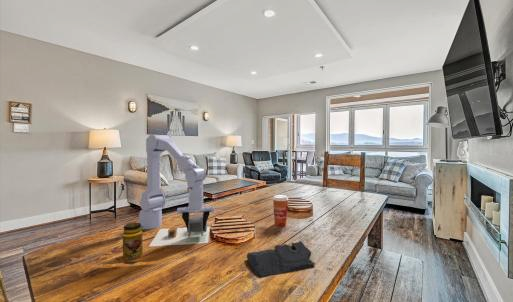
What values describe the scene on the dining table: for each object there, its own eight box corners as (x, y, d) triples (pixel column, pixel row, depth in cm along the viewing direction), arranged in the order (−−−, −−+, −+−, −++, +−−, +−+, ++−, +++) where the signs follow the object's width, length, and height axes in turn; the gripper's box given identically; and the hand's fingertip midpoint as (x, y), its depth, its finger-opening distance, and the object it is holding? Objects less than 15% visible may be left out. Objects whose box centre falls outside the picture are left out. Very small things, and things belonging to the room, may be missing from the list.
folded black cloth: (242, 257, 84) (242, 244, 83) (296, 247, 91) (296, 235, 91) (257, 281, 69) (257, 265, 69) (320, 267, 77) (320, 253, 77)
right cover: (193, 232, 102) (193, 218, 102) (194, 227, 108) (194, 214, 108) (206, 231, 103) (206, 218, 103) (207, 227, 109) (207, 214, 108)
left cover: (188, 236, 93) (188, 221, 93) (190, 231, 98) (189, 217, 98) (202, 236, 94) (202, 221, 93) (203, 230, 99) (203, 216, 99)
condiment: (132, 265, 77) (132, 229, 77) (112, 261, 80) (112, 226, 79) (149, 254, 84) (148, 221, 84) (130, 251, 87) (129, 219, 86)
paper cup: (270, 226, 113) (270, 197, 112) (275, 221, 120) (275, 194, 120) (286, 228, 110) (286, 198, 110) (290, 223, 117) (290, 195, 117)
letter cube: (168, 237, 97) (168, 230, 96) (169, 234, 100) (169, 227, 100) (175, 237, 97) (175, 230, 97) (176, 234, 100) (176, 227, 100)
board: (148, 249, 88) (148, 246, 88) (160, 231, 106) (160, 228, 106) (208, 245, 92) (208, 242, 92) (209, 228, 110) (209, 226, 110)
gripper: (175, 200, 90) (175, 235, 91) (213, 198, 93) (214, 232, 93) (178, 196, 97) (179, 228, 98) (214, 194, 100) (214, 226, 100)
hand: (196, 230), depth 96 cm, fingers closed on left cover, 5 cm apart
